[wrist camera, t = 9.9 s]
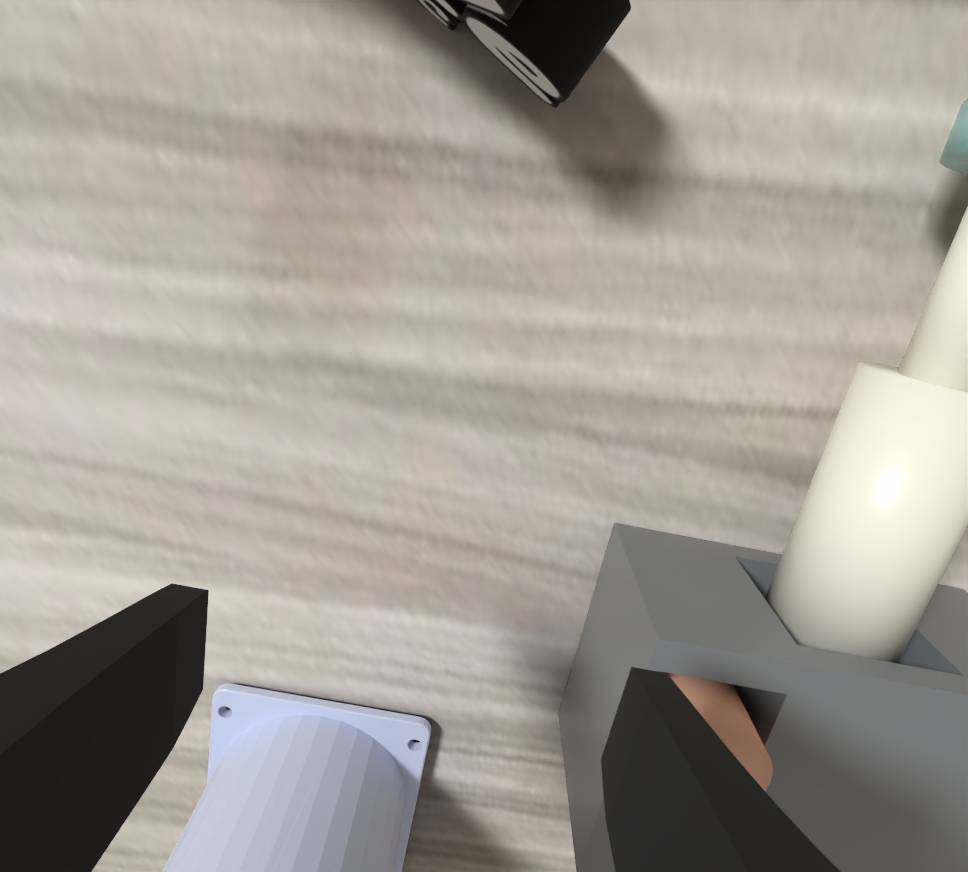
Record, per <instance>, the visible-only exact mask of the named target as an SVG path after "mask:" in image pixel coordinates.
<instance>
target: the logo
mask: <svg viewBox="0 0 968 872" xmlns="http://www.w3.org/2000/svg"><path fill="white" fill-rule="evenodd" d="M418 2H419V3H420V4H421V5H422V6H424V7H425V8H426V9H427V10H428V11H429V12H431V13H432V14H433V15H434V16H435V17H436V18H438V19H439V20H440V21H441V22H442V23H443V24H445V25H446V26H447V27H448V28H449V29H450V30H454V29H455V27H456V25H457V24H458V22H459V21H462V22H463V23H465V24H466V26H467V27H468V28H469V30H470V31H471V32H472V33H473V34H474V35H475V37H476V38H477V39H478V40H479V41H480V42H481V43H482V44H483V45H484V46H485V47H486V48H487V49H488V50H489V51H490V52H491V53H492V54H493V55H494V56H495V57H496V58H497V59H498V60H499V61H500V62H501V63H502V64H503V65H504V66H506V67H507V68H508V69H509V70H510V71H511V72H512V73H513V74H514V75H515V76H516V77H517V78H518V79H519V80H520V81H521V82H523V83H524V84H525V85H526V86H527V87H528V88H529V89H530V90H531V91H532V92H534V93H535V94H536V95H537V96H538V97H539V98H541V99H542V100H543V101H545V102H546V103H547V104H549V105H551V106H552V107H554V108H556V107H557V106H558V105H559V104H560V102H565V101H566V99H567V98H568V96H569V95H570V94H571V92H572V91H573V89H574V88H575V87H576V85H577V84H578V83H579V81H580V80H581V78H582V77H583V76H584V74H585V73H586V71H587V70H588V69H589V67H590V66H591V64H592V63H593V62H594V60H595V59H596V57H597V56H598V55H599V53H600V52H601V50H602V49H603V48H604V46H605V45H606V43H607V42H608V41H609V39H610V38H611V36H612V35H613V34H614V32H615V31H616V29H617V28H618V27H619V25H620V24H621V22H622V21H623V20H624V18H625V17H626V15H627V14H628V13H629V11H630V9H631V5H630V1H629V0H418Z"/></svg>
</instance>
